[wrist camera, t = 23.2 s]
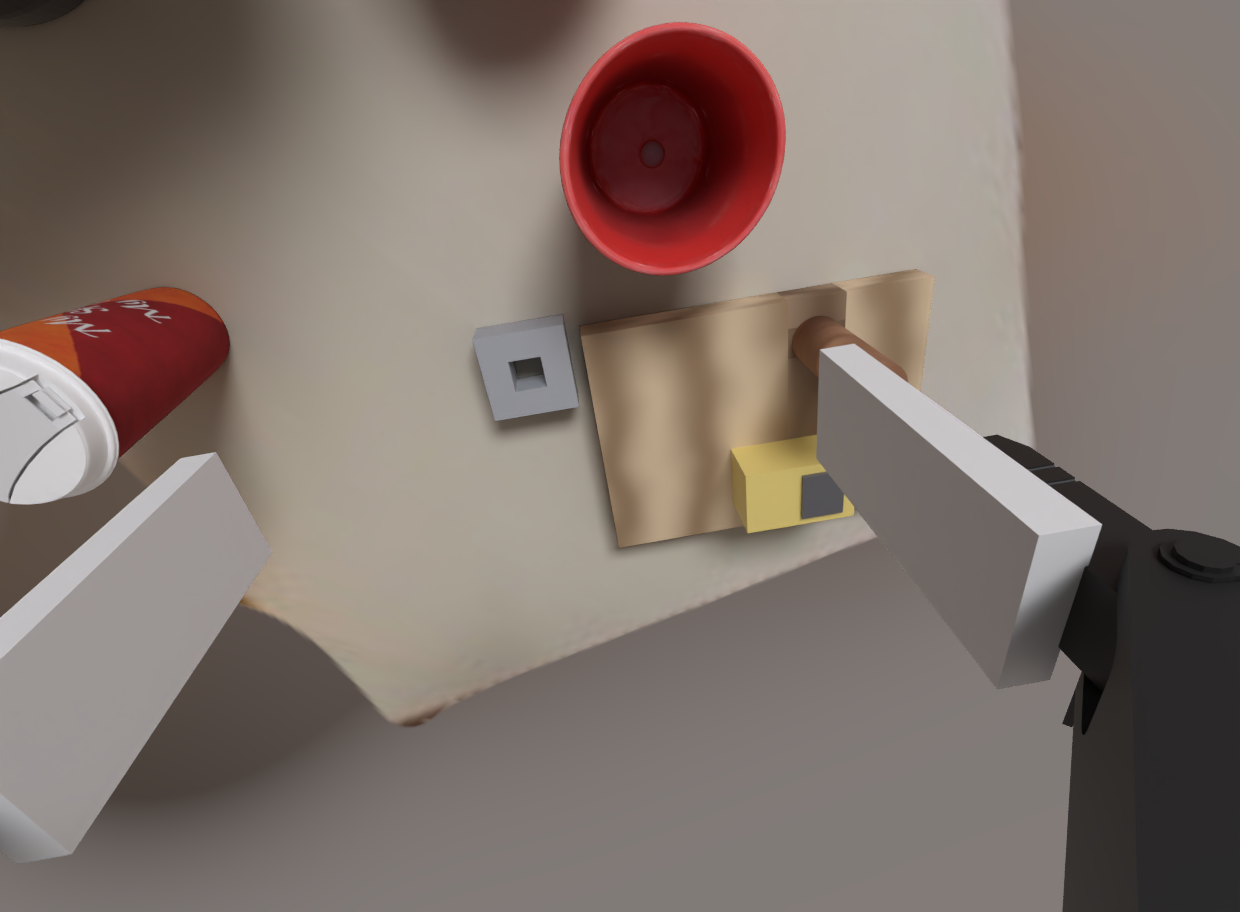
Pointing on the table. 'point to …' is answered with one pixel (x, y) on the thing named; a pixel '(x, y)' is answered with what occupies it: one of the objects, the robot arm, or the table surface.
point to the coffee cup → (97, 386)
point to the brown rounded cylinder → (831, 343)
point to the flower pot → (672, 148)
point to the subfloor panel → (725, 391)
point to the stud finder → (784, 486)
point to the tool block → (523, 343)
